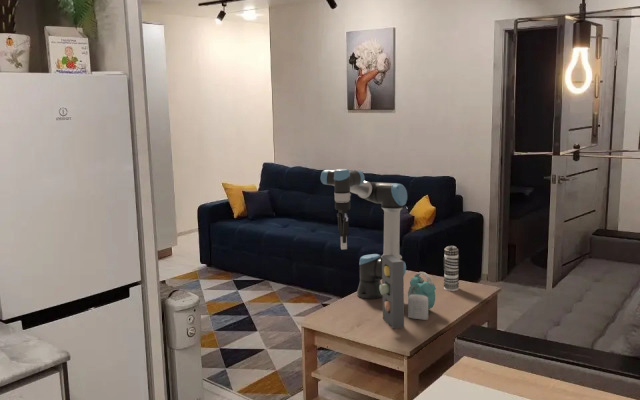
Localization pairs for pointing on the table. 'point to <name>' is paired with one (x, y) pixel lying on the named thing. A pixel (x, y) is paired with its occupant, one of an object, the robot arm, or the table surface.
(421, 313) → the photo printer
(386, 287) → the sage button
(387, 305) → the terracotta button
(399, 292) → the button panel
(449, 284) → the leaning tower model
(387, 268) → the mustard button
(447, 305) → the table surface
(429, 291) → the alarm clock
